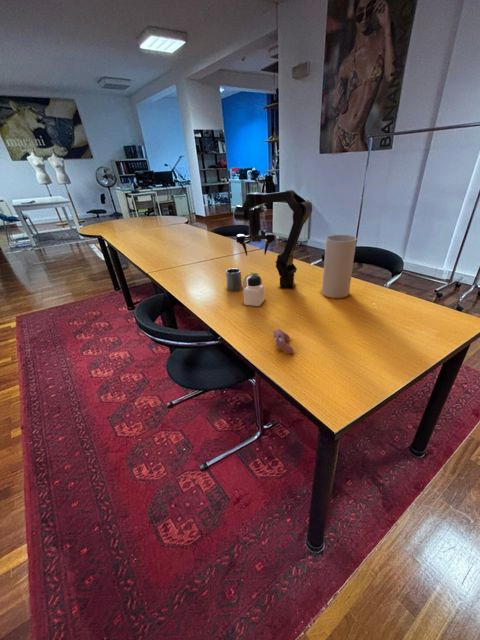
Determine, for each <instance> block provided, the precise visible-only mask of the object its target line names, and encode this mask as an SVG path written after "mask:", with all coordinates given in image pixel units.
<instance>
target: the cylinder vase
mask: <svg viewBox="0 0 480 640" xmlns="http://www.w3.org/2000/svg"><path fill="white" fill-rule="evenodd" d="M357 239H358V238H357V236H354V235H350V234H349V235H348V234H332V235H327V236H326V239H325V251H324V260H323V273H322V283H321V284H322V286H321V293H322V295H323V296H324V297H327V298H332V299H342V298H346V297H348V296H349V294H350V291H351V284H352V283H351V282H352V276H353V275H352V274H353V268H354V262H355V261H354V260H355V254H356V248H357V247H356V246H357Z"/></svg>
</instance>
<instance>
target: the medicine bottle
mask: <svg viewBox="0 0 480 640" xmlns="http://www.w3.org/2000/svg"><path fill="white" fill-rule="evenodd" d="M259 276H260V275H258V276H257V275H251V276H248V277H247V278H246V279H247V287H246V288H243V302H244V305H245V306H252V307H253V306H254V307H260V306H261V305H262V304H263V303H264V302H265V285H263V284H261V280H262V278H261V277H259ZM260 278H261V279H260Z"/></svg>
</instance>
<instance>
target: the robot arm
mask: <svg viewBox="0 0 480 640" xmlns="http://www.w3.org/2000/svg"><path fill="white" fill-rule="evenodd" d="M280 202H285V203H287V205H288V207H289V209H290V210H291V211H292V225H291V228H290V231H289V234H288V238H287V240H286V243H285V245H284V246H285V247H284V249H283V251H282V252H281V253H279V254H278V255H277V257H276V261H275V268H276V270H277V273H278V276H279V288H280V289H291V290H292V289H293V288H294V287H295V285H296V283H295V275H296V274H295V273H297V270H298V268H297V267H296V265H295V264H294V252H295V251H296V250H295V249H296V247H297V243H298V241H299V239H300V236H301V232H302V230H303V227H304V225H305V224H306V222H307V221H308V220H309V217H310V216H311V214H312V212H313V206H312V204H311V202H309V201H306V200H305V198H304V197H302V196H301V195H299V194H298V193H297V192H296V191H295V190H293V189H289V190H285V191H277V192H270V193H269V192H268V193H266V192H265V193H264V192H258V191H256V192H250V193H247V195H246V197H245V201H244V203H243V205H236V206H235V209H234V212H233V218H234V220H235V221H236V222H245V223H246V222H248V235H245V233H239V234H238V233H237V234H236V235H235V240H236V243H239V245H241V246H242V248H243V250H244V253H245V256H246V257H248V250H247V245H246V241H251V243H255V242H256V243H257V242H258V243H261V242H262V240H264V248H263V253H264V256H266V255H267V252H268V248H269V246H270V244H272V243H273V242H275V241H276V240H275V239H276V236H275V234H274V233H273V232H266V230H265V229H262V219H261V218H262V217H261V216H262V215H261V214H262V213H265V210H264V208H262V205H266V204H271V203H280Z"/></svg>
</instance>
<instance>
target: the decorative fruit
mask: <svg viewBox="0 0 480 640" xmlns="http://www.w3.org/2000/svg"><path fill="white" fill-rule="evenodd" d="M251 275H257V276H259V277H260V274H259V273H257V272H252V273H250V274H247V275H245V276H244V278H243V281H242V287H244V288H243V289H245V288H246V287H247V279H246V278H247V277H248V276H251ZM260 279H261V285H263V284H262V283H263V279H262V277H260Z"/></svg>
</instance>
